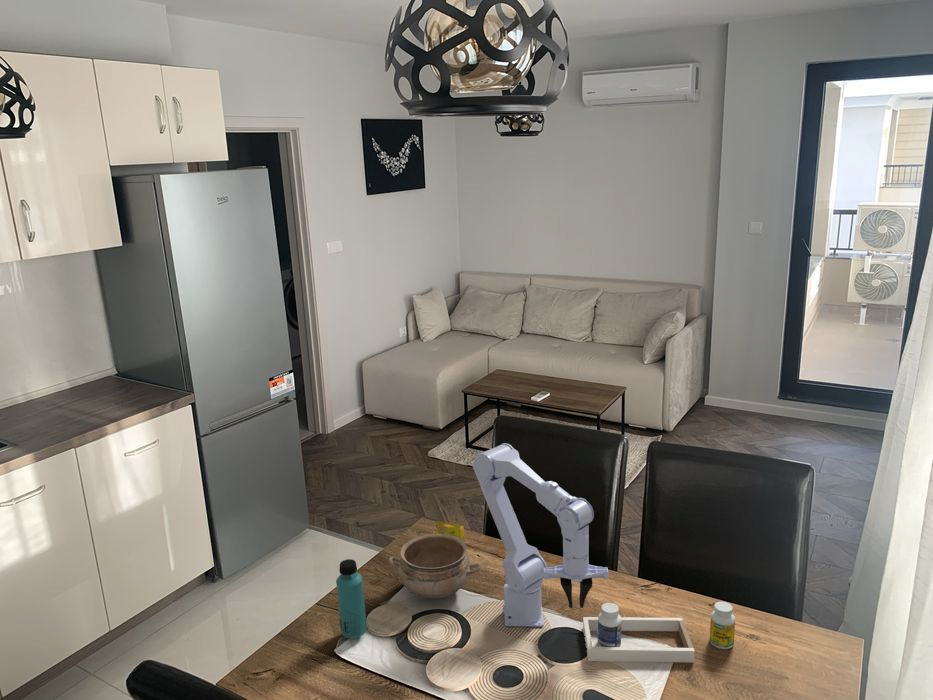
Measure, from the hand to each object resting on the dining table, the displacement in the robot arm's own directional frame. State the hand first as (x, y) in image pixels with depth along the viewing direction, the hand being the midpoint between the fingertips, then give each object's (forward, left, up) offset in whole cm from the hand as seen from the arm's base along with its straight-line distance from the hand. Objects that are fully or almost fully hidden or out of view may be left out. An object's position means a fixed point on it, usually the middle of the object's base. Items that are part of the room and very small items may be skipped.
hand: (576, 605), depth 163 cm
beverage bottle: (-53, +2, -11) cm, 54 cm away
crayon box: (-32, +38, -11) cm, 51 cm away
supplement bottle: (+34, +1, -11) cm, 35 cm away
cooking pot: (-35, +21, -11) cm, 42 cm away
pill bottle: (+8, 0, -11) cm, 13 cm away
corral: (+14, 0, -10) cm, 18 cm away
